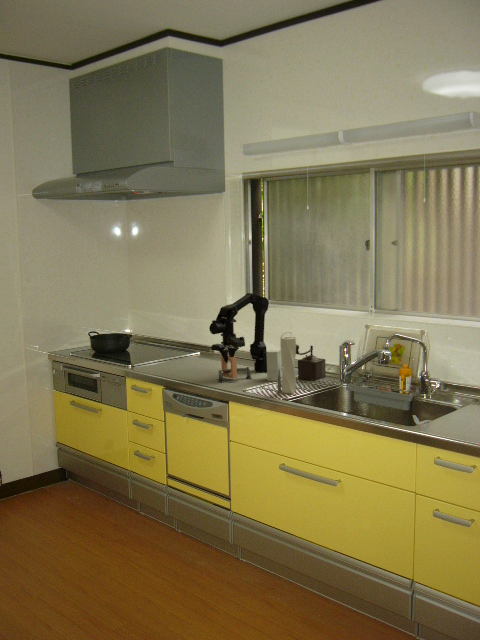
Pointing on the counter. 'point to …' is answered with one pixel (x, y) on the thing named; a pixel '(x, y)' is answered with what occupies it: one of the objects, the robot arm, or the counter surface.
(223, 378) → the pad
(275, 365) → the skincare box
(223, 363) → the orange rectangular frame
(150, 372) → the counter surface
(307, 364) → the brown coffee grinder
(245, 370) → the gray arch
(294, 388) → the skyscraper
